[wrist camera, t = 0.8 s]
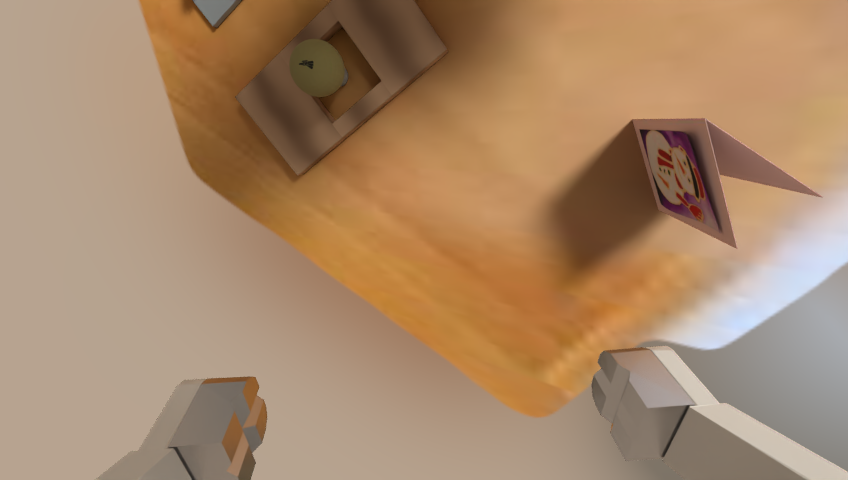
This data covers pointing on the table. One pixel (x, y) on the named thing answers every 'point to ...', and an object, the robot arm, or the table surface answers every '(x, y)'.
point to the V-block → (216, 9)
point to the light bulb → (317, 68)
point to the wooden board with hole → (395, 66)
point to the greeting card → (702, 171)
